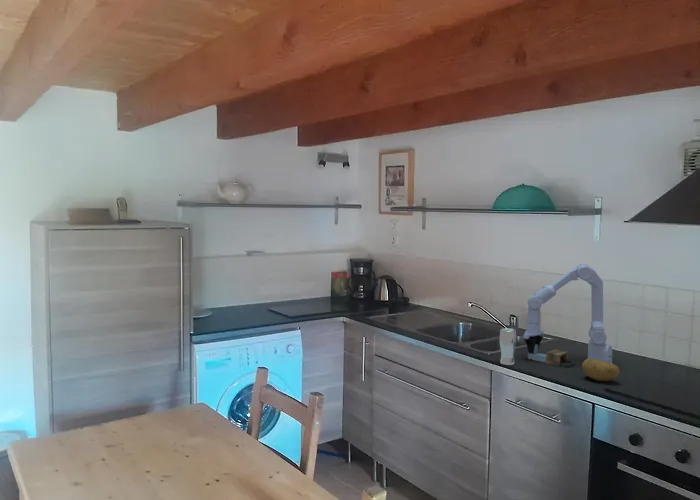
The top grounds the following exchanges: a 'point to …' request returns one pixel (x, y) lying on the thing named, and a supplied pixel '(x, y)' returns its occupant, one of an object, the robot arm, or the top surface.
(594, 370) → the potato
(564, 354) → the tunnel
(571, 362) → the pit
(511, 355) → the beer glass
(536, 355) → the blue l-shaped block
